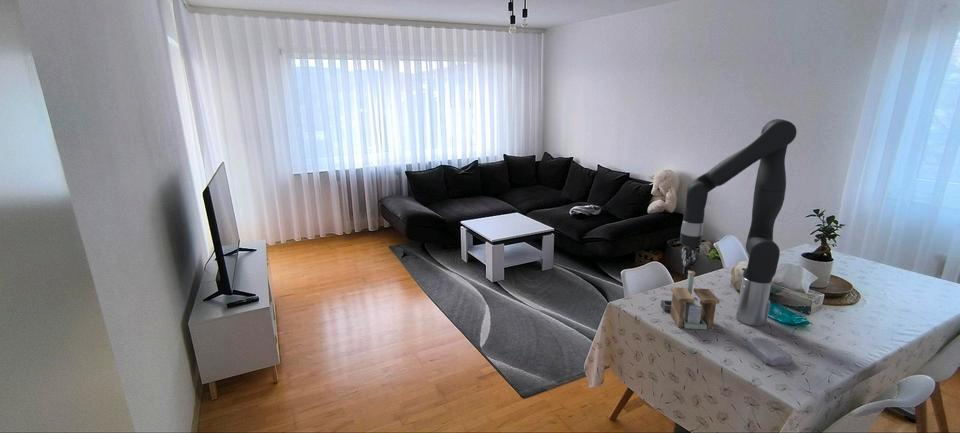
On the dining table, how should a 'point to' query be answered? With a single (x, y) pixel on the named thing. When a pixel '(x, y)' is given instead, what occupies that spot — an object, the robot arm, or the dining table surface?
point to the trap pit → (666, 305)
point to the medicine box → (692, 312)
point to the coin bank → (738, 274)
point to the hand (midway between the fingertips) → (685, 274)
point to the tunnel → (683, 296)
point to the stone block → (768, 351)
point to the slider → (689, 288)
